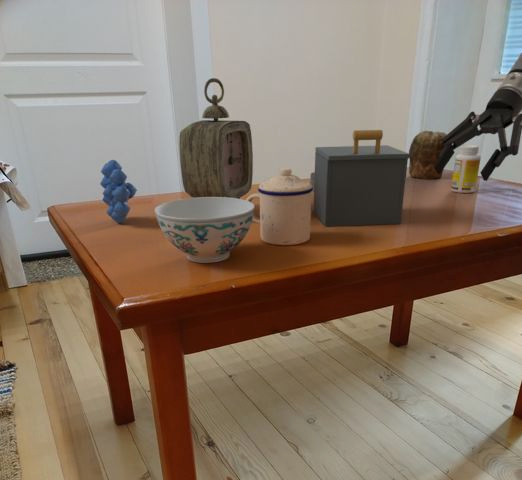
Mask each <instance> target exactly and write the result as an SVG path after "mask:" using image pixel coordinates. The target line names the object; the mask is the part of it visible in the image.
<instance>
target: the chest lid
mask: <svg viewBox="0 0 522 480" xmlns="http://www.w3.org/2000/svg"><path fill="white" fill-rule="evenodd" d="M383 135H384V132H383V129H369V130H368V129H366V130H364V129H363V130H353V132H352V140H353V145H347V146H345V145H343V146H316V147H315V148H314V149H315V151H314V152H317V153H319V154H320V155H322V156H323V157H324V158H326V159H327V160H329V161H333V160H369V159H404V158H408V159H409V158H410V154H409V152H408V151H407V152H406V151H403V150H401V149H399V148H395V147H393V146H390V145H387V144H385V145H384V144H383V145H382V144H381V143H382V142H381V141H382V139H383V137H384V136H383ZM359 141H375V144H374V145H359Z"/></svg>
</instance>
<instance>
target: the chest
mask: <svg viewBox="0 0 522 480" xmlns="http://www.w3.org/2000/svg"><path fill="white" fill-rule="evenodd" d="M408 161H409V158H404V159H369V160H333V161H329V160H327V159H326V158H324V157H323V156H322V155H320V154H319V153H317V152H316V151H314V172H315V179H314V192H313V210H312V211H313V213H314V214H315V216H316V217H317V218H318V220H319V221H320V222H321V224H322V225H323V226H324V227H347V226H348V227H350V226H352V227H353V226H374V225H376V226H378V225H400V224H401V223H402V215H403V206H404V198H405V190H406V189H405V187H406V180H407V171H408V170H407V169H408V164H409V163H408Z"/></svg>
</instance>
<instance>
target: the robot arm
mask: <svg viewBox="0 0 522 480" xmlns="http://www.w3.org/2000/svg"><path fill="white" fill-rule="evenodd" d="M521 112H522V51H521V52H520V54H519V55H518V58H517V59H516V61H515V62H514V64H513V65H512V67H511V69H510V70H509V71H508V73H507V74H506V76H505V77H504V79H502V82H501V83H500V84H499V86H498V87H497V89H496V90H495V91H494V93H493V94H492V96H491V98H490V99H489V101H488V102H487V104H486V107H485V110H484V111H483V112H482V113H480V114H476V112H475V111H470V112H469V113H468V115H467V116H466V118H465V119H463V120H462V121H461V122H460V123H459V124H458V125H456V126H455V127H454V128H453V129H452V130H450V131H449V132H448V133H446V134H447V135H446V136H445V137H444V138H443V139H442V140H441V142H442V144H443V146H444V149H443V150H442V152H441V153H440V155H439V157H440V158H439V159H438V161H437V162H436V164H435V165H434V168H435V170H436V172H437V174H440V173H441V172H442V170H443V169H445V168H446V167H447V164H448V163H449V162H450V160H451V159H452V157H453V156H454V154H455V150H456V149H458V148H459V147H461V146H463V145H464V144H466V143H467V142H469V141H470V140H472V139H473V138H475V137H479V136H480V137H481V135H487V134H491V135H496V134H497V135H498V143H499V148H495V150H494V152H493V153H492V154H491V156H490V158H489V159H487V162H486V164H484V166H483V168H482V170H481V171H479V172H480V174H481V177H482V180H483V181H485V182H487V181H488V180H489V178H490V177H491V176H492V174H493V172H494V171H495V169H496V168H499V167H500V166H501V165H502V163H503V162H504V161H505V159H506V158H507V157H508V156H511V155H512V156H517V155H518V154H519V148H520V144H521V137H522V113H521ZM511 125H512V129H511V136H510V140H509V145H508V141H507V133H506V129H507V128H508V127H510V126H511ZM478 126H479V127H478ZM443 171H444V170H443Z"/></svg>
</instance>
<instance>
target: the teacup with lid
mask: <svg viewBox="0 0 522 480" xmlns="http://www.w3.org/2000/svg"><path fill="white" fill-rule="evenodd" d="M278 171H279V174H277V175H274V176H272V177H271V178H270V179H269V180H267V181H263V182H261V183H260V184H259V186H258V188H257V191H258V193H257V192H256V193H253V194H250V195H249V196H248V197H247V198H246V200H247V201H249V202H251V203H252V201H253V200H254V199H259V217H258V216H257V215H256V214H254V215H253V220H252V222H254V223H257V224H259V233H260V234H259V235H260V239H261V241H262V242H263V243H266V244H270V245H275V246H295V245H300V244H305V243H306V242H308V241H309V240H310V239H311V216H312V214H311V213H312V192H313V191H312V190H313V188H312V185H311V184H310V181H306V180H303V179H302V178H300V177H299V176H297V175H296V174H292V173H293V171H292V169H291V168H289V167H282V168H280V169H279V170H278Z"/></svg>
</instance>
